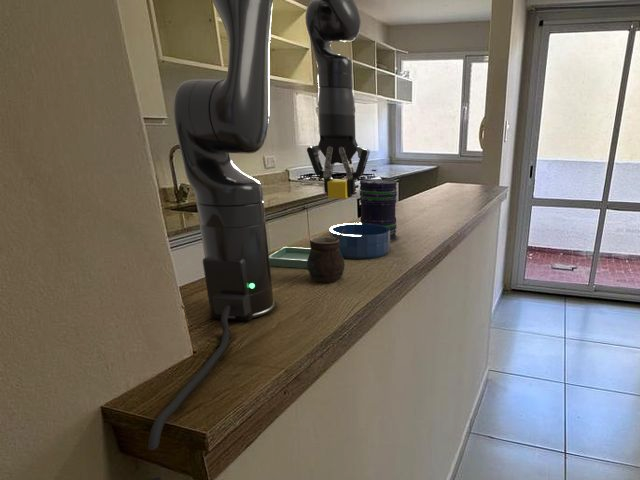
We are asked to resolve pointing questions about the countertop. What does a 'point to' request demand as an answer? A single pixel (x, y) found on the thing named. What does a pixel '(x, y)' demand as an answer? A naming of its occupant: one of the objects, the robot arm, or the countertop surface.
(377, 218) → the storage jar
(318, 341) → the countertop surface
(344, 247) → the bowl
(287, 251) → the soap dish
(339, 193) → the sponge
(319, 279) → the mate gourd
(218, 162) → the robot arm
